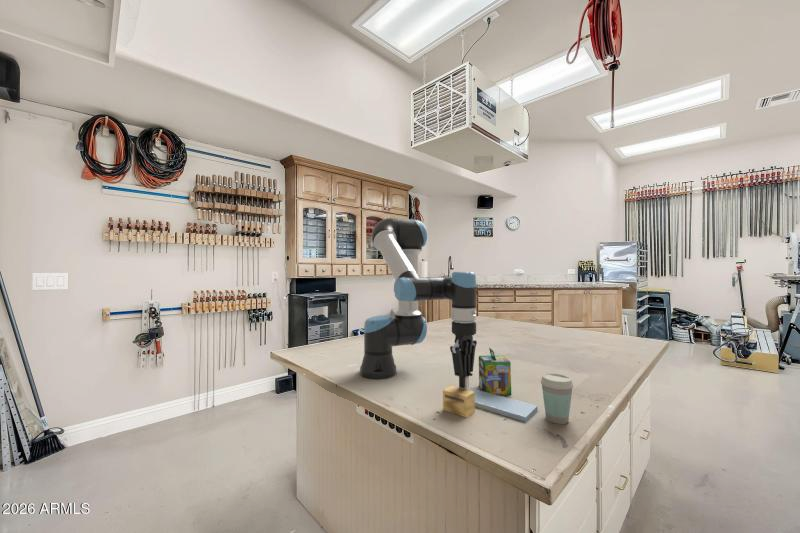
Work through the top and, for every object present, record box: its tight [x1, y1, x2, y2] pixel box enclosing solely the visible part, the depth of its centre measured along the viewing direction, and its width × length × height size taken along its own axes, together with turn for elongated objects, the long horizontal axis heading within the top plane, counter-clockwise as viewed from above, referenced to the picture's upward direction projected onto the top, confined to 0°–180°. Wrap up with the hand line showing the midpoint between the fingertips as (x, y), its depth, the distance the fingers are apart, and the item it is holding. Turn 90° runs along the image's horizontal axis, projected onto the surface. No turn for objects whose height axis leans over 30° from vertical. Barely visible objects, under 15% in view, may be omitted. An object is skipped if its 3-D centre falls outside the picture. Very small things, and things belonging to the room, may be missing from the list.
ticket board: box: [469, 387, 539, 423], centre depth 102 cm, size 24×10×2 cm, turn 49°
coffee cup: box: [540, 372, 574, 425], centre depth 92 cm, size 8×8×12 cm
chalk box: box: [478, 347, 512, 396], centre depth 114 cm, size 9×9×15 cm
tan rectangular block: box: [442, 385, 476, 418], centre depth 97 cm, size 8×5×6 cm, turn 49°
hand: (464, 396), depth 100 cm, fingers closed
